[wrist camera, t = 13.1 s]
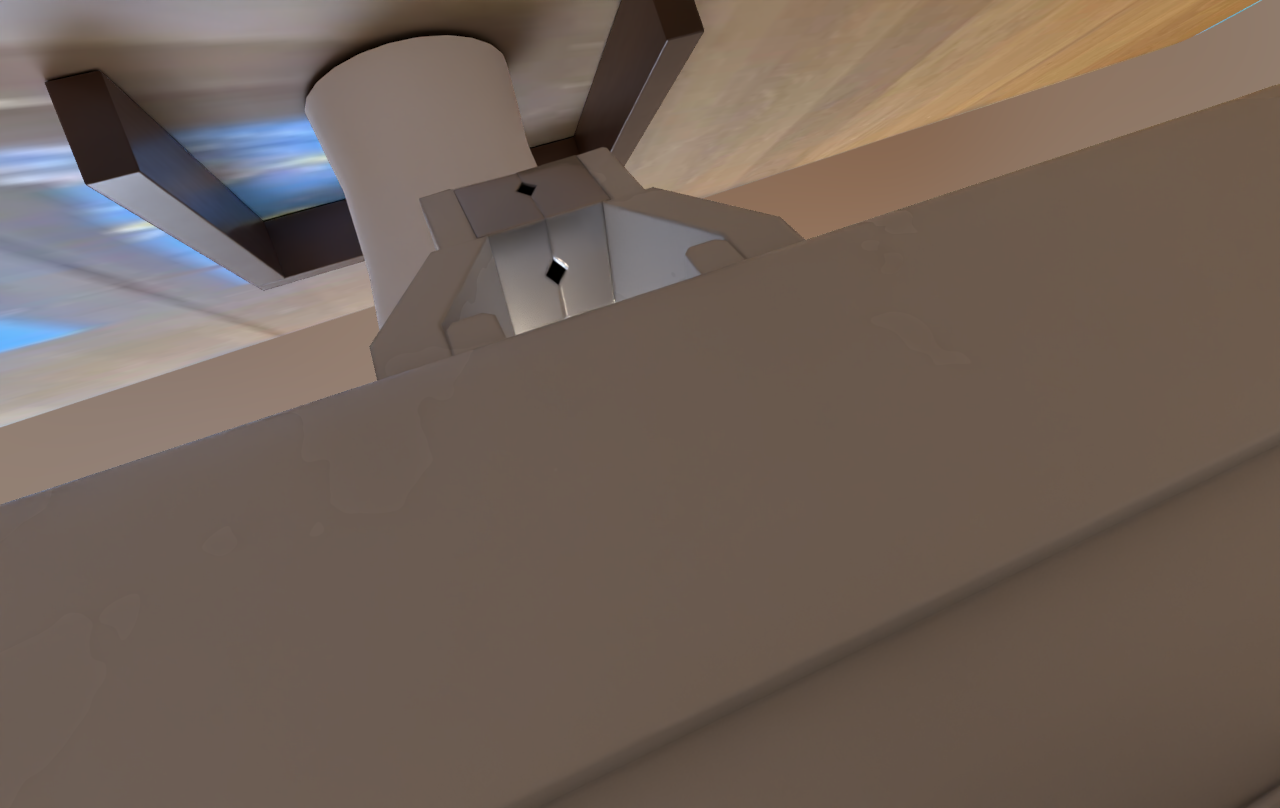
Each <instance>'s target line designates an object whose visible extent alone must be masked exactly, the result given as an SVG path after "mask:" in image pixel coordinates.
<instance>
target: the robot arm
mask: <svg viewBox="0 0 1280 808" xmlns="http://www.w3.org/2000/svg"><path fill="white" fill-rule="evenodd" d="M419 202H420V205H421V208H422V211H423V214H424V217H425V220H426V223H427V226H428V229H429V232H430V235H431V238H432V241H433V244H434V247H435V250H436V251H433V252H431V253H430V254H429V256H428V257H427V259H426V260H425V262H424V263H423V265H422V267H421V268H420V270H419V271H418V273H417V274H416V276H415V277H414V279H413V280H412V282H411V283H410V285H409V286H408V288H407V290H406V291H405V293H404V294H403V296H402V297H401V299H400V300H399V302H398V303H397V305H396V306H395V308H394V309H393V311H392V313H391V314H390V316H389V317H388V319H387V320H386V322H385V323H384V325H383V326H382V328H381V329H380V331H379V332H378V334H377V336H376V337H375V339H374V340H373V342H372V343H371V345H370V351H371V355H372V359H373V364H374V368H375V373H376V377H377V381H375V382H372V383H369V384H366V385H363V386H360V387H357V388H354V389H351V390H347V391H344V392H341V393H338V394H335V395H332V396H329V397H326V398H323V399H320V400H317V401H314V402H311V403H308V404H305V405H302V406H299V407H296V408H293V409H290V410H287V411H283V412H281V413H277V414H275V415H271V416H268V417H265V418H262V419H259V420H257V421H253V422H250V423H247V424H244V425H241V426H238V427H235V428H232V429H229V430H226V431H223V432H220V433H217V434H214V435H211V436H208V437H205V438H202V439H199V440H196V441H193V442H190V443H186V444H184V445H180V446H177V447H174V448H171V449H168V450H165V451H162V452H160V453H156V454H153V455H150V456H147V457H144V458H141V459H138V460H135V461H132V462H129V463H126V464H123V465H120V466H117V467H114V468H111V469H108V470H105V471H102V472H98V473H95V474H92V475H89V476H86V477H84V478H80V479H78V480H74V481H71V482H68V483H65V484H62V485H59V486H56V487H53V488H50V489H47V490H44V491H41V492H38V493H35V494H32V495H29V496H25V497H22V498H19V499H16V500H13V501H10V502H7V503H5V504H1V505H0V808H1280V84H1278V85H1274V86H1271V87H1268V88H1265V89H1262V90H1259V91H1256V92H1254V93H1251V94H1248V95H1245V96H1242V97H1239V98H1236V99H1233V100H1230V101H1227V102H1224V103H1221V104H1218V105H1215V106H1212V107H1209V108H1206V109H1203V110H1200V111H1197V112H1194V113H1191V114H1188V115H1185V116H1182V117H1179V118H1175V119H1172V120H1169V121H1166V122H1163V123H1160V124H1157V125H1154V126H1151V127H1148V128H1145V129H1142V130H1139V131H1136V132H1133V133H1130V134H1127V135H1124V136H1121V137H1118V138H1114V139H1111V140H1108V141H1105V142H1102V143H1099V144H1096V145H1093V146H1090V147H1087V148H1084V149H1081V150H1078V151H1075V152H1072V153H1069V154H1066V155H1063V156H1060V157H1057V158H1054V159H1051V160H1048V161H1044V162H1042V163H1038V164H1035V165H1032V166H1029V167H1026V168H1023V169H1020V170H1018V171H1014V172H1011V173H1008V174H1005V175H1002V176H999V177H996V178H993V179H990V180H987V181H984V182H981V183H978V184H975V185H972V186H968V187H966V188H963V189H960V190H957V191H953V192H950V193H947V194H944V195H941V196H938V197H935V198H932V199H929V200H926V201H923V202H920V203H917V204H914V205H911V206H908V207H905V208H902V209H899V210H896V211H893V212H889V213H886V214H884V215H880V216H877V217H874V218H872V219H868V220H865V221H862V222H859V223H856V224H853V225H850V226H847V227H844V228H841V229H838V230H835V231H832V232H829V233H826V234H823V235H820V236H817V237H813V238H810V239H807V240H805V239H804V238H803V237H802V236H801V235H799V234H798V233H797V232H796V231H795V230H794V229H793V228H792V227H791V226H790V225H788V224H787V223H786V222H785V221H784V220H783V219H782V218H781V217H778V216H774V215H770V214H765V213H761V212H757V211H753V210H748V209H744V208H740V207H736V206H731V205H727V204H723V203H719V202H714V201H710V200H706V199H701V198H697V197H693V196H689V195H684V194H680V193H676V192H672V191H667V190H663V189H659V188H654V187H652V188H649V189H644V188H643V187H642V186H641V185H640V184H639V183H638V182H637V181H636V179H635V178H634V177H633V176H632V175H631V174H630V173H629V172H628V171H627V170H626V168H625V167H624V166H623V165H622V164H621V163H620V162H619V161H618V160H617V159H616V157H615V156H614V155H613V154H612V153H611V152H610V151H609V150H608V149H607V148H604V147H601V148H598V149H595V150H592V151H589V152H586V153H583V154H580V155H577V156H576V155H573V156H570V157H567V158H564V159H560V160H557V161H554V162H550V163H547V164H544V165H540V166H537V167H534V168H530V169H527V170H524V171H520V172H517V173H514V174H510V175H506V176H502V177H498V178H494V179H490V180H486V181H482V182H479V183H475V184H471V185H467V186H463V187H459V188H455V189H452V190H451V189H448V190H444V191H441V192H438V193H435V194H431V195H428V196H425V197H422V198H419Z"/></svg>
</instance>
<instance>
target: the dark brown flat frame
mask: <svg viewBox="0 0 1280 808" xmlns="http://www.w3.org/2000/svg"><path fill="white" fill-rule="evenodd" d="M703 33H704V28H703V25H702V22H701V19H700V16H699V13H698V10H697V7H696V4H695V2H694V0H622V1H621V4H620V7H619V10H618V12H617V15H616V18H615V21H614V24H613V27H612V29H611V32H610V35H609V38H608V41H607V44H606V47H605V49H604V52H603V55H602V58H601V61H600V64H599V67H598V69H597V72H596V75H595V78H594V81H593V84H592V87H591V89H590V92H589V95H588V98H587V101H586V104H585V107H584V109H583V112H582V115H581V118H580V121H579V124H578V126H577V129H576V132H575V135H574V137H572V138H568V139H564V140H561V141H557V142H553V143H550V144H546V145H542V146H539V147H535V148H531V149H530V150H531V153H532V155H533V157H534V160H535V162H536V164H537V166H540V165H544V164H547V163H550V162H554V161H557V160H560V159H564V158H567V157H570V156H573V155H576V156H577V155H580V154H583V153H586V152H589V151H592V150H595V149H598V148H601V147H604V148H607V149H608V150H609V151H610V152H611V153H612V154H613V155H614V156H615V157H616V159H617V160H618V161H619V162H620V163H621V164H622V165H623V166H625V164H626V163H627V161H628V159H629V158H630V156H631V154H632V152H633V151H634V149H635V147H636V146H637V144H638V142H639V141H640V139H641V137H642V136H643V134H644V132H645V130H646V129H647V127H648V125H649V124H650V122H651V120H652V119H653V117H654V115H655V114H656V112H657V110H658V109H659V107H660V105H661V103H662V102H663V100H664V98H665V97H666V95H667V93H668V92H669V90H670V88H671V87H672V85H673V83H674V82H675V80H676V78H677V76H678V75H679V73H680V71H681V70H682V68H683V66H684V65H685V63H686V61H687V60H688V58H689V56H690V54H691V53H692V51H693V49H694V48H695V46H696V44H697V43H698V41H699V39H700V38H701V36H702V34H703ZM45 85H46V87H47V90H48V92H49V95H50V97H51V100H52V102H53V105H54V107H55V110H56V112H57V115H58V117H59V120H60V122H61V125H62V127H63V130H64V132H65V135H66V137H67V140H68V142H69V145H70V147H71V150H72V152H73V155H74V157H75V160H76V162H77V165H78V167H79V170H80V172H81V175H82V177H83V180H84V182H85V184H86V185H87V186H89V187H90V188H92V189H94V190H95V191H97V192H99V193H100V194H102V195H104V196H105V197H107V198H109V199H110V200H112V201H114V202H115V203H117V204H119V205H120V206H122V207H124V208H125V209H127V210H129V211H130V212H132V213H134V214H135V215H137V216H139V217H140V218H142V219H144V220H145V221H147V222H149V223H150V224H152V225H154V226H156V227H157V228H159V229H161V230H162V231H164V232H166V233H167V234H169V235H171V236H172V237H174V238H176V239H177V240H179V241H181V242H182V243H184V244H186V245H187V246H189V247H191V248H192V249H194V250H196V251H197V252H199V253H201V254H202V255H204V256H206V257H207V258H209V259H211V260H212V261H214V262H216V263H217V264H219V265H221V266H222V267H224V268H226V269H227V270H229V271H231V272H232V273H234V274H236V275H237V276H239V277H241V278H242V279H244V280H246V281H248V282H249V283H251V284H253V285H254V286H256V287H258V288H259V289H261V290H263V291H265V290H268V289H271V288H275V287H278V286H282V285H285V284H288V283H292V282H295V281H299V280H302V279H305V278H309V277H312V276H315V275H319V274H322V273H326V272H329V271H332V270H336V269H339V268H343V267H346V266H349V265H353V264H356V263H360V262H363V261H365V259H364V256H363V253H362V250H361V246H360V243H359V240H358V237H357V233H356V230H355V227H354V224H353V220H352V217H351V214H350V211H349V207H348V204H347V201H346V199H345V200H341V201H338V202H334V203H330V204H327V205H323V206H319V207H316V208H312V209H309V210H305V211H301V212H298V213H294V214H290V215H287V216H283V217H279V218H276V219H272V220H268V221H265V222H263V221H262V220H261V219H260V218H259V217H258V216H257V215H255V214H254V213H253V212H252V211H251V210H250V209H249V208H248V207H247V206H246V205H245V204H244V203H242V202H241V201H240V200H239V199H238V198H237V197H236V196H235V195H234V194H233V193H232V192H231V191H230V190H228V189H227V188H226V187H225V186H224V185H223V184H222V183H221V182H220V181H219V180H218V179H217V178H215V177H214V176H213V175H212V174H211V173H210V172H209V171H208V170H207V169H206V168H205V167H204V166H202V165H201V164H200V163H199V162H198V161H197V160H196V159H195V158H194V157H193V156H192V155H191V154H189V153H188V152H187V151H186V150H185V149H184V148H183V147H182V146H181V145H180V144H179V143H178V142H176V141H175V140H174V139H173V138H172V137H171V136H170V135H169V134H168V133H167V132H166V131H165V130H163V129H162V128H161V127H160V126H159V125H158V124H157V123H156V122H155V121H154V120H153V119H152V118H151V117H149V116H148V115H147V114H146V113H145V112H144V111H143V110H142V109H141V108H140V107H139V106H138V105H136V104H135V103H134V102H133V101H132V100H131V99H130V98H129V97H128V96H127V95H126V94H125V93H123V92H122V91H121V90H120V89H119V88H118V87H117V86H116V85H115V84H114V83H113V82H112V81H110V80H109V79H108V78H107V77H106V76H105V75H104V74H103V73H102V72H101V71H94V72H90V73H85V74H80V75H76V76H71V77H66V78H62V79H57V80H53V81H48V82H45Z"/></svg>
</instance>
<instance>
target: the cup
mask: <svg viewBox="0 0 1280 808" xmlns="http://www.w3.org/2000/svg"><path fill="white" fill-rule="evenodd" d="M305 114H306V116H307V118H308V120H309V122H310V124H311V126H312V128H313V130H314V132H315V134H316V136H317V138H318V140H319V142H320V144H321V146H322V148H323V151H324V153H325V155H326V157H327V159H328V161H329V163H330V165H331V167H332V169H333V171H334V173H335V175H336V177H337V179H338V181H339V183H340V185H341V187H342V189H343V191H344V194H345V198H346V201H347V204H348V207H349V211H350V214H351V217H352V220H353V224H354V227H355V230H356V233H357V237H358V240H359V243H360V246H361V250H362V253H363V256H364V259H365V263H366V266H367V269H368V273H369V277H370V282H371V288H372V293H373V298H374V303H375V308H376V313H377V319H378V324H379V329H381V328H382V326H383V325H384V323H385V322H386V320H387V319H388V317H389V316H390V314H391V313H392V311H393V309H394V308H395V306H396V305H397V303H398V302H399V300H400V299H401V297H402V296H403V294H404V293H405V291H406V290H407V288H408V286H409V285H410V283H411V282H412V280H413V279H414V277H415V276H416V274H417V273H418V271H419V270H420V268H421V267H422V265H423V263H424V262H425V260H426V259H427V257H428V256H429V254H430V253H431V252H433V251H436V250H435V247H434V244H433V241H432V238H431V235H430V232H429V229H428V226H427V223H426V220H425V217H424V214H423V211H422V208H421V205H420V202H419V198H422V197H425V196H428V195H431V194H435V193H438V192H441V191H444V190H448V189H451V190H452V189H455V188H459V187H463V186H467V185H471V184H475V183H479V182H482V181H486V180H490V179H494V178H498V177H502V176H506V175H510V174H514V173H517V172H520V171H524V170H527V169H530V168H534V167H537V164H536V162H535V160H534V157H533V155H532V153H531V150H530V148H529V146H528V143H527V139H526V135H525V132H524V128H523V124H522V120H521V116H520V112H519V108H518V104H517V101H516V97H515V93H514V89H513V85H512V81H511V77H510V73H509V69H508V66H507V63H506V61H505V58H504V56H503V54H502V53H501V52H500V51H499V50H497V49H496V48H495V47H494V46H492V45H491V44H489V43H486V42H483V41H480V40H477V39H474V38H470V37H460V36H451V35H442V36H426V37H416V38H411V39H407V40H402V41H397V42H392V43H388V44H385V45H382V46H380V47H377V48H374V49H371V50H368V51H366V52H363V53H360V54H358V55H356V56H354V57H352V58H351V59H349V60H347V61H345V62H343V63H342V64H340V65H338V66H336V67H334V68H333V69H332V70H331V71H330V72H328V73H327V74H326V75H325V76H324V77H322V78H321V79H320V80H319V81H318V82H316V84H315V85H314V87H313V88H312V90H311V91H310V93H309V95H308V96H307V98H306V104H305Z"/></svg>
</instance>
